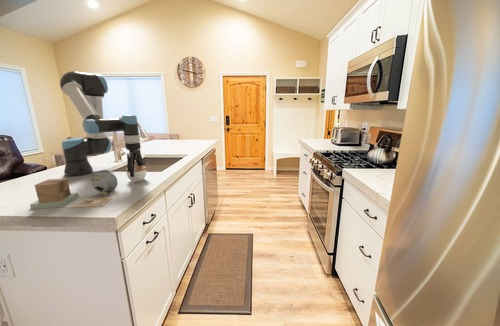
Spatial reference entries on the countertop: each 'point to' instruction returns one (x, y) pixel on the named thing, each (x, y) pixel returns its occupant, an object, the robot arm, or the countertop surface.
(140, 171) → the lidded jar
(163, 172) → the countertop surface
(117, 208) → the countertop surface
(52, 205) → the base plate
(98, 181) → the decorative toy
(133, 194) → the countertop surface
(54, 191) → the walnut cube
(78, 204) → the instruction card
